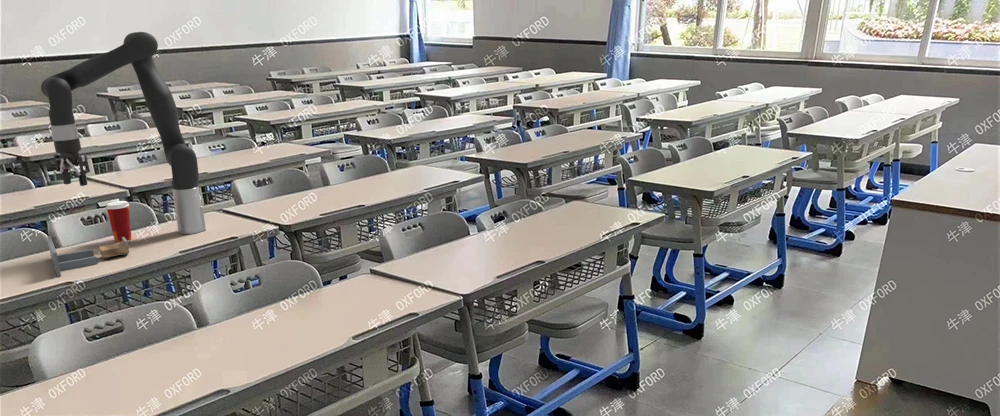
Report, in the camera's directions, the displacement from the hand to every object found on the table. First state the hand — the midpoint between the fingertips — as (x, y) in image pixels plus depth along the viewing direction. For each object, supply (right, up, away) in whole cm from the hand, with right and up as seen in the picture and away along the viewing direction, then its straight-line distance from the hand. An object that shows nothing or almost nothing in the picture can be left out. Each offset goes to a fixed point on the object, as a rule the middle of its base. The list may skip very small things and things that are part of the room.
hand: (75, 184), depth 241 cm
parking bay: (+3, -26, -5) cm, 27 cm away
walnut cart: (+12, -25, +2) cm, 28 cm away
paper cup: (+5, -20, +22) cm, 30 cm away
